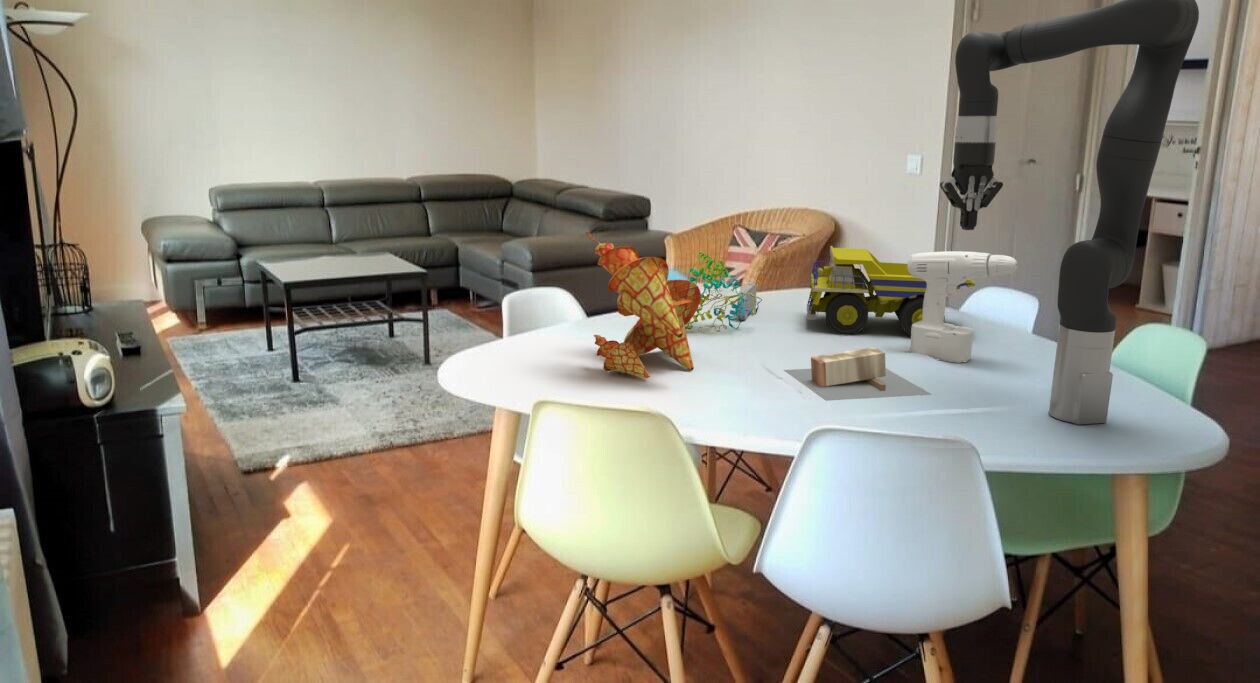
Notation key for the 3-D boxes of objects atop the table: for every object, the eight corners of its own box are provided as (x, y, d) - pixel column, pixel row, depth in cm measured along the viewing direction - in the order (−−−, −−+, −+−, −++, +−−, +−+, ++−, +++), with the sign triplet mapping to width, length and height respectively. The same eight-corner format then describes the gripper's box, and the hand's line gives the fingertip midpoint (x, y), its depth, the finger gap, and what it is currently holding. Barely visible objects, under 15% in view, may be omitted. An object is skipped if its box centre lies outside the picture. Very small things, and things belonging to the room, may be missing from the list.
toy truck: (971, 342, 231) (979, 263, 227) (806, 335, 238) (811, 257, 233) (954, 322, 254) (961, 249, 249) (805, 315, 260) (809, 244, 255)
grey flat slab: (747, 308, 269) (749, 279, 267) (755, 308, 268) (757, 280, 266) (735, 322, 251) (736, 291, 249) (743, 323, 250) (745, 292, 248)
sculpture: (682, 316, 179) (588, 193, 193) (604, 408, 192) (521, 287, 207) (771, 315, 204) (682, 207, 219) (696, 397, 217) (617, 290, 232)
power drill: (999, 371, 205) (1011, 258, 199) (894, 353, 220) (902, 247, 214) (1011, 363, 212) (1023, 254, 206) (908, 346, 226) (917, 243, 220)
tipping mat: (931, 399, 185) (932, 388, 184) (825, 405, 180) (826, 394, 180) (879, 369, 206) (880, 359, 205) (783, 374, 201) (783, 364, 200)
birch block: (885, 352, 190) (820, 363, 187) (885, 376, 191) (821, 387, 189) (873, 346, 194) (810, 357, 192) (874, 369, 196) (811, 380, 193)
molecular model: (680, 254, 228) (693, 232, 241) (656, 326, 239) (670, 301, 252) (767, 287, 226) (776, 263, 239) (738, 358, 237) (748, 332, 250)
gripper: (955, 140, 177) (948, 232, 181) (1017, 140, 179) (1008, 231, 183) (934, 140, 184) (927, 228, 188) (994, 139, 187) (986, 227, 191)
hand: (967, 229), depth 186 cm, fingers closed
